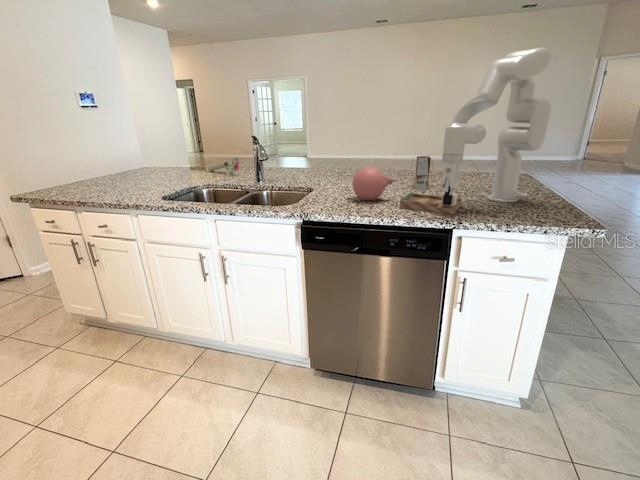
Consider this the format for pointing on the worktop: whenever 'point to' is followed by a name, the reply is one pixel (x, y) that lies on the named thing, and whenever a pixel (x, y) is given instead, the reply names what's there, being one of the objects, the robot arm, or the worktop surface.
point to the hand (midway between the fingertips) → (446, 204)
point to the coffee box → (422, 172)
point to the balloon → (370, 183)
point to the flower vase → (225, 166)
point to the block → (454, 199)
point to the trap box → (427, 203)
